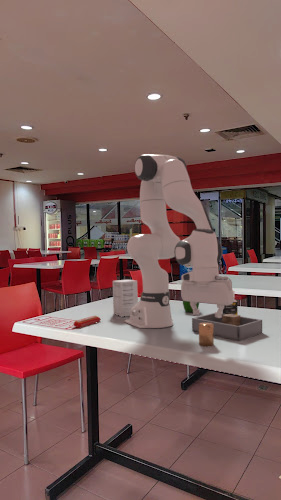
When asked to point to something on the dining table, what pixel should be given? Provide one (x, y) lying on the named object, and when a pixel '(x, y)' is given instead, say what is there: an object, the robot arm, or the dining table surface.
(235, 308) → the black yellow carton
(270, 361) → the dining table surface
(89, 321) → the candy bar
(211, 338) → the copper tin
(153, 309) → the robot arm
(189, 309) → the bell pepper
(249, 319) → the box
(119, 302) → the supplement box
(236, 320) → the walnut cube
